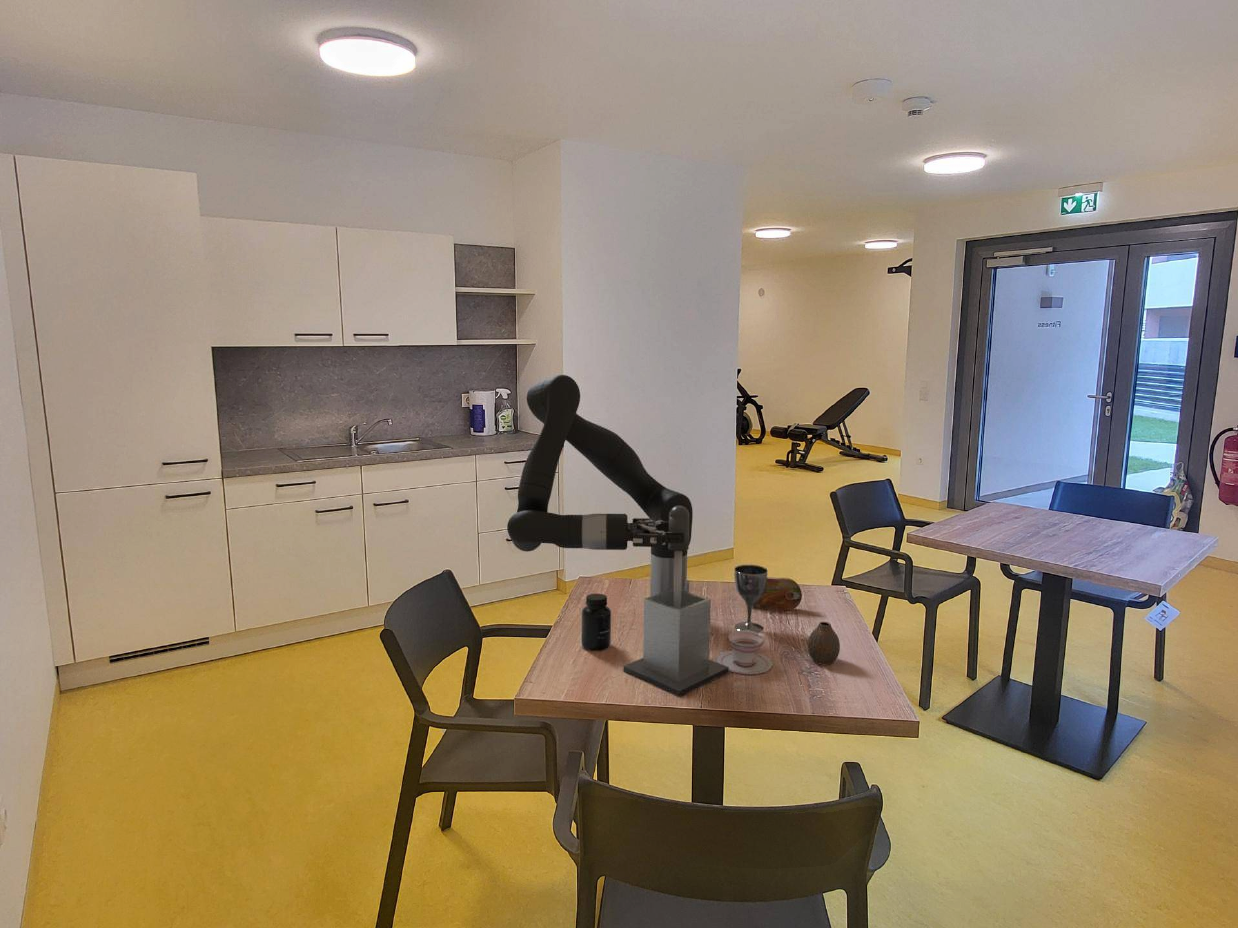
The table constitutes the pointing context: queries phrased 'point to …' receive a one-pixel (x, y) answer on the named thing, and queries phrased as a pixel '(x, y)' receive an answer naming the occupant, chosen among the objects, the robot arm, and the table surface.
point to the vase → (823, 644)
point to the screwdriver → (678, 547)
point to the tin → (779, 595)
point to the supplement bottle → (596, 623)
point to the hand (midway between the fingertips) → (682, 532)
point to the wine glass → (750, 591)
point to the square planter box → (676, 644)
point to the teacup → (745, 653)
